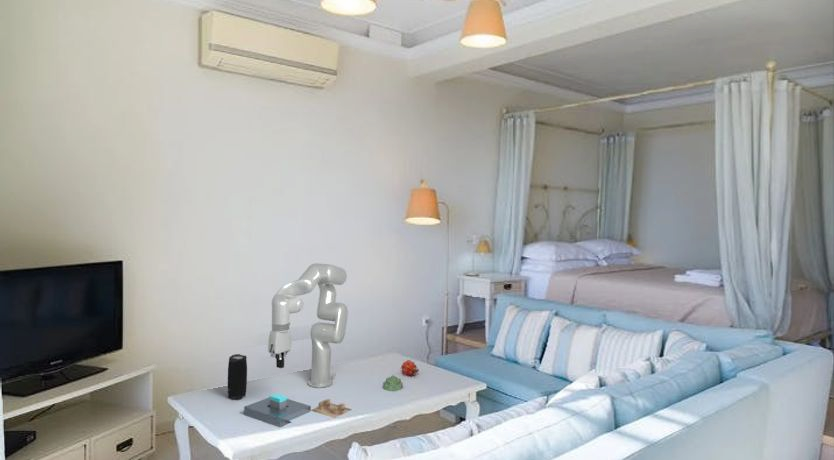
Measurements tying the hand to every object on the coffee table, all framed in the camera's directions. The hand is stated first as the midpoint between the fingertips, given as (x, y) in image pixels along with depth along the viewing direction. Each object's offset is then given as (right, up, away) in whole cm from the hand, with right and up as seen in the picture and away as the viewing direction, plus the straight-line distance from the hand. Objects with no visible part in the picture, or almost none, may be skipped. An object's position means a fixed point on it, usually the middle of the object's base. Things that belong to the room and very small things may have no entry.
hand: (280, 367), depth 243 cm
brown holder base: (+23, -20, 0) cm, 30 cm away
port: (0, -20, -4) cm, 20 cm away
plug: (0, -20, -4) cm, 20 cm away
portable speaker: (-24, -18, +14) cm, 33 cm away
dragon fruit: (+57, -19, +57) cm, 82 cm away
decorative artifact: (+49, -20, +35) cm, 63 cm away
